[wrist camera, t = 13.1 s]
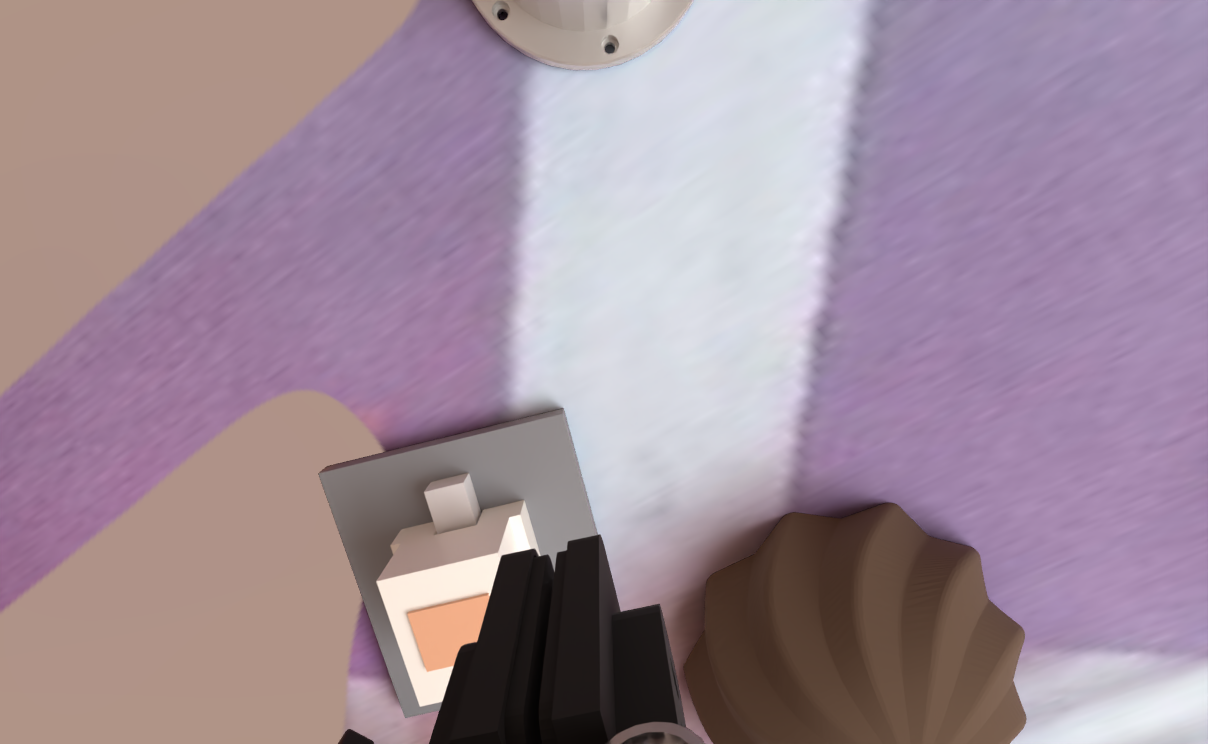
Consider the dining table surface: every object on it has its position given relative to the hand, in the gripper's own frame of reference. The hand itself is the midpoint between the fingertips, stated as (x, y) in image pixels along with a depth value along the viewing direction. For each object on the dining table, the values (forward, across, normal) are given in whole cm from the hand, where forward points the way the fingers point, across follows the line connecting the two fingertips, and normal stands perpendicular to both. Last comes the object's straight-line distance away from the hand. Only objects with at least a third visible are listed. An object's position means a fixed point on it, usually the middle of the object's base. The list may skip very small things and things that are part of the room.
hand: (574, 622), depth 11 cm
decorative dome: (+26, -11, +23) cm, 36 cm away
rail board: (+26, +9, +12) cm, 30 cm away
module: (+24, +9, +12) cm, 28 cm away
